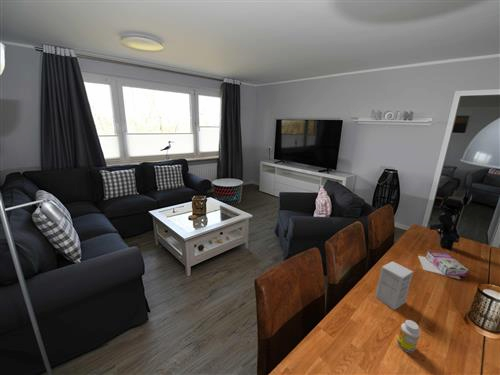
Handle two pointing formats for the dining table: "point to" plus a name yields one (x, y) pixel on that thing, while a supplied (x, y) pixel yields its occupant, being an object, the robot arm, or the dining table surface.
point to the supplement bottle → (408, 336)
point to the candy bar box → (446, 264)
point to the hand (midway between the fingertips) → (440, 244)
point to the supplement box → (393, 284)
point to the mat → (432, 267)
